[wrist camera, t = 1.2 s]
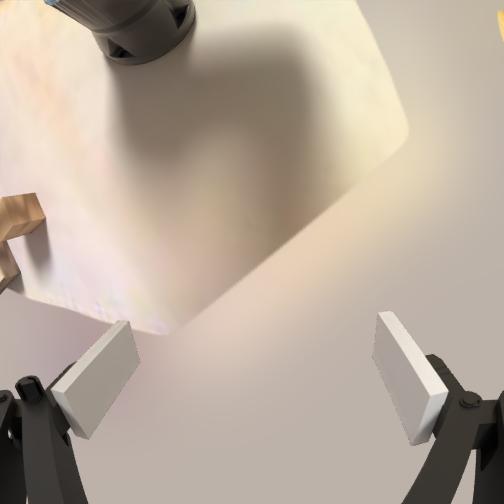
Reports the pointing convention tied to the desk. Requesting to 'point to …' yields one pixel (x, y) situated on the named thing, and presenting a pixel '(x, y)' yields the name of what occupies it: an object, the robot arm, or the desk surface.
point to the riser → (7, 266)
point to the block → (19, 215)
